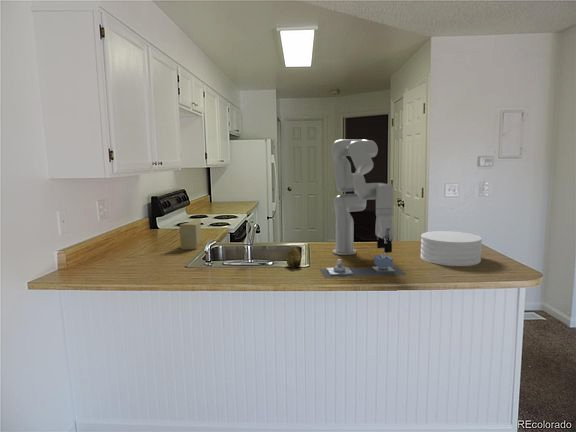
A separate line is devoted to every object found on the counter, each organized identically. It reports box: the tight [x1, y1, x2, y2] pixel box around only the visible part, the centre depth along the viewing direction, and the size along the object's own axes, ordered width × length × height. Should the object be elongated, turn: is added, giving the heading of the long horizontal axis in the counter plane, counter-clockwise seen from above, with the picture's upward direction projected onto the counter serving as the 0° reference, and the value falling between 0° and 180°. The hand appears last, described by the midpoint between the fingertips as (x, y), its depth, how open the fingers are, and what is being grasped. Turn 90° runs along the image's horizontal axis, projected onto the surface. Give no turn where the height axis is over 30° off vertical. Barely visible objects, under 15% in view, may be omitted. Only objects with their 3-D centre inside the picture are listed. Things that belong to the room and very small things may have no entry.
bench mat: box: [319, 265, 408, 279], centre depth 178 cm, size 13×36×1 cm, turn 95°
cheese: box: [179, 218, 203, 250], centre depth 239 cm, size 22×10×15 cm, turn 174°
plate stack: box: [420, 230, 483, 267], centre depth 199 cm, size 28×28×12 cm
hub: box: [326, 258, 353, 276], centre depth 178 cm, size 10×10×6 cm
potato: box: [285, 247, 302, 269], centre depth 191 cm, size 8×13×8 cm, turn 170°
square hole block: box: [373, 254, 394, 267], centre depth 179 cm, size 6×6×4 cm
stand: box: [371, 252, 395, 273], centre depth 179 cm, size 8×8×8 cm
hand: (384, 250), depth 178 cm, fingers open, 9 cm apart
